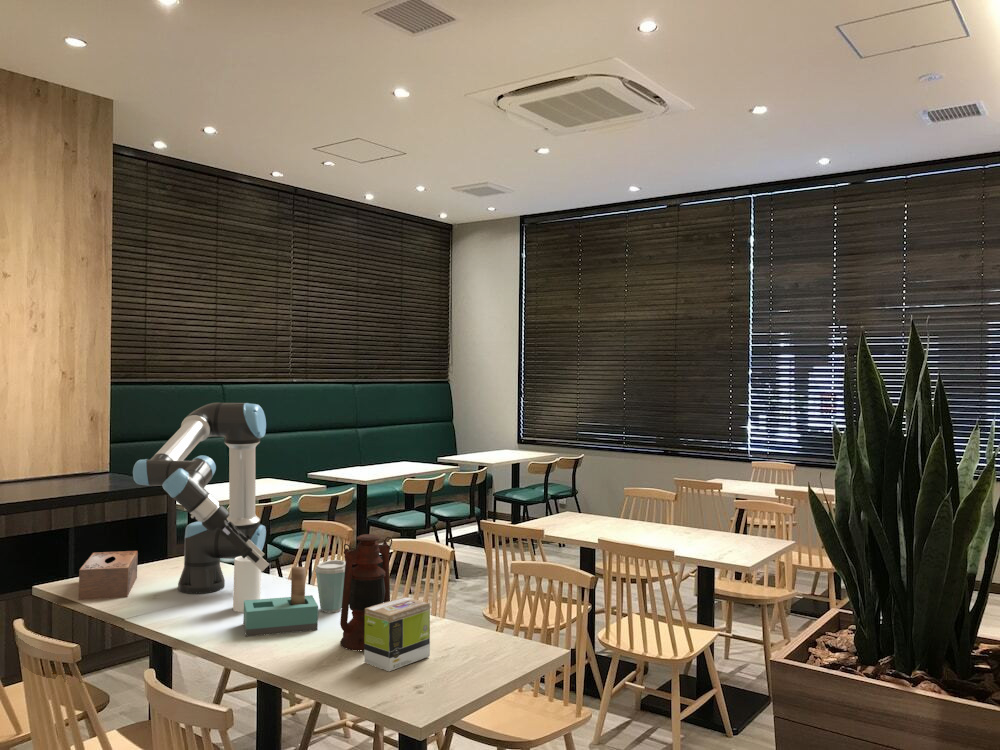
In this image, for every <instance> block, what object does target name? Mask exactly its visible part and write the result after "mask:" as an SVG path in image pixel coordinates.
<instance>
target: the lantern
mask: <svg viewBox="0 0 1000 750" xmlns="http://www.w3.org/2000/svg"><path fill="white" fill-rule="evenodd" d="M380 539H381V538H380V536H379V535H376V534H372V533H367V534H360V535H358V536H356V540H357V541H359V542H358V543H357V544H356V547H357V548H354V549H352V547H351V546H350V544H349V543H344V545H343V550H344V551H343V554H344V561H345V562H346V564H345V575H344V587H343V598H342V608H341V610H340V611H341V612H340V620H339V625H340V628H341V630H342V631H343V633H342V638H341V639H340V641H339V643H340V646H341V647H342V646H343V647H344V649H345V648H347V649H346V650H349V649H350V650H349V651H353V650H357V651H356V652H364V637H365V608H368V607H371V606H375V605H378V604H381V603H385V602H389V601H391V587H390V586H391V585H390V583H391V582H390V551H391V547H392V544H393V538H392V537H390V536H386V538H384V542H383V543H382V544H379V543H378V542H377V541H379V540H380ZM388 539H390V544H388V543H387V542H386V541H387V540H388ZM346 546H347V548H346ZM380 555H381V556H380ZM381 563H382V564H381ZM379 564H381V565H382V567H381V566H379ZM349 609H350V611H351V615H352V618H351V619H350V620H349V619H348V618H349ZM348 620H349V621H348ZM343 647H342V648H343ZM358 650H359V651H358ZM360 650H362V651H360Z"/></svg>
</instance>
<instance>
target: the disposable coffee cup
mask: <svg viewBox="0 0 1000 750" xmlns="http://www.w3.org/2000/svg"><path fill="white" fill-rule="evenodd" d="M345 564H346V562H345V560H340V559H332V560H327V561H322V562H320V563H318V564H317V565H316V566H315V568H314V569H315V570H314V572H315V577H316V585H317V590H318V592H317V593H318V599H319V606H320V609H321V612H323V611H324V612H323V613H337V612H340V611H341V609H342V598H343V587H344V575H345Z"/></svg>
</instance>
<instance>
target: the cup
mask: <svg viewBox="0 0 1000 750" xmlns="http://www.w3.org/2000/svg"><path fill="white" fill-rule="evenodd" d="M233 564H234V568H233V597H232V600H233V601H232V603H233V604H232V610H233V611H234V612H236V611H238V612H237V613H244V600H257V599H261V593H262V592H261V589H262V587H261V585H262V571H261V570H260V569H259V568H258V567H257V566H255V565H254V564H253V563H252V562H251V561H250V560H249V559H248V558H247V557H245V558H243V557H242V556H239V557H236V558H235V559H234V561H233Z"/></svg>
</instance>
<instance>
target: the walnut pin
mask: <svg viewBox="0 0 1000 750" xmlns="http://www.w3.org/2000/svg"><path fill="white" fill-rule="evenodd" d="M306 570H307V569H306V567H304V566H294V567H292V568H291V583H290V584H291V585H290V587H291V588H290V589H291V590H290V597H291V605H300V604H305V596H306Z"/></svg>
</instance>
